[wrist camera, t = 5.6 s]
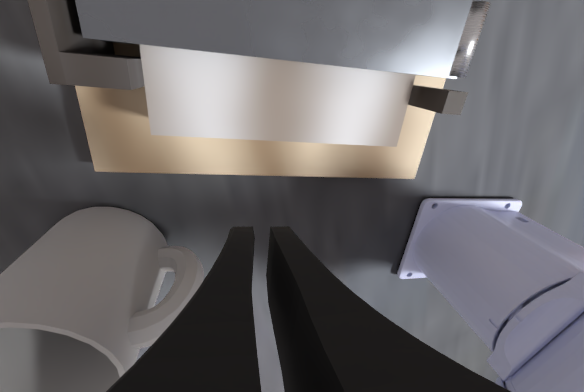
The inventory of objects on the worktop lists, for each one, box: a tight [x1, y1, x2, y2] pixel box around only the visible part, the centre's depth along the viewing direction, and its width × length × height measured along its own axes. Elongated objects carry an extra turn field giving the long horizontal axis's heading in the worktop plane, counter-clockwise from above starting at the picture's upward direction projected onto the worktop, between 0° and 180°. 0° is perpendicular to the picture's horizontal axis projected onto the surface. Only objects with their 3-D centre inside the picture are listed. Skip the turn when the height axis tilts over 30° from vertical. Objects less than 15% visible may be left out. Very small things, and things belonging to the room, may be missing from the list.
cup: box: [0, 207, 204, 392], centre depth 15 cm, size 7×10×9 cm
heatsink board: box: [27, 0, 468, 179], centre depth 12 cm, size 20×16×6 cm
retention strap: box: [75, 0, 491, 79], centre depth 11 cm, size 16×3×2 cm, turn 84°
